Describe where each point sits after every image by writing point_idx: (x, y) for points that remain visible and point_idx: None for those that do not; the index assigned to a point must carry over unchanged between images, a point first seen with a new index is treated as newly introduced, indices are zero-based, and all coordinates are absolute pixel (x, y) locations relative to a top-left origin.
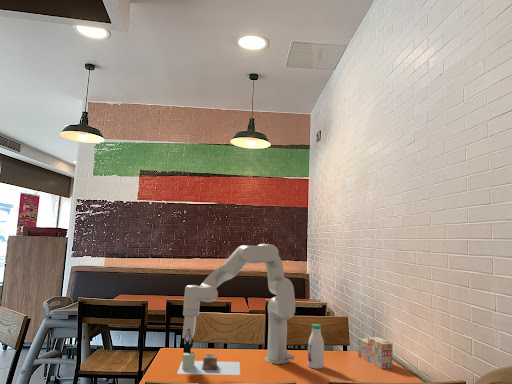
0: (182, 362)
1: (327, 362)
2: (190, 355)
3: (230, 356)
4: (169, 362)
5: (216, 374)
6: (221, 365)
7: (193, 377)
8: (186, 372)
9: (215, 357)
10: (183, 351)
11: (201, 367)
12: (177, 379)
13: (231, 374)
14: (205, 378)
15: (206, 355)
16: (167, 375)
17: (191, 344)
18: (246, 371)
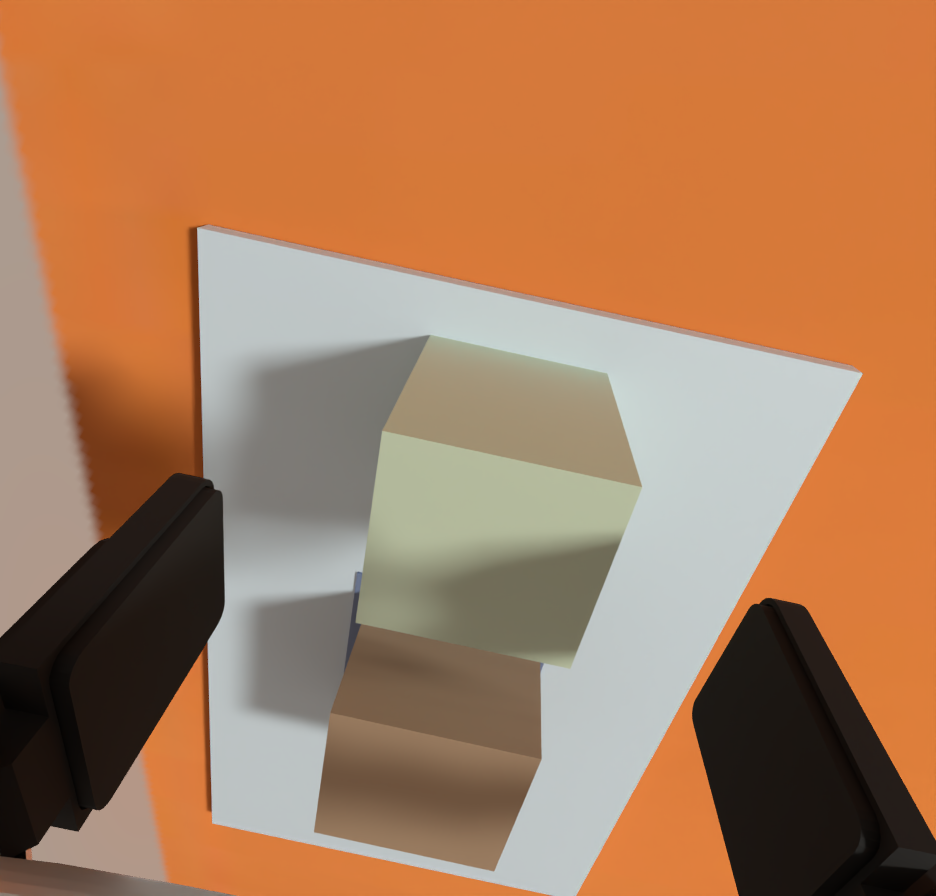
0: (752, 369)
1: None
2: (365, 567)
3: None
4: (929, 115)
5: (210, 677)
6: None
7: (144, 445)
8: (258, 381)
9: (353, 830)
10: (166, 485)
11: None
12: (32, 223)
13: (222, 778)
14: None
15: (459, 765)
16: (182, 48)
17: (714, 750)
18: (346, 870)
